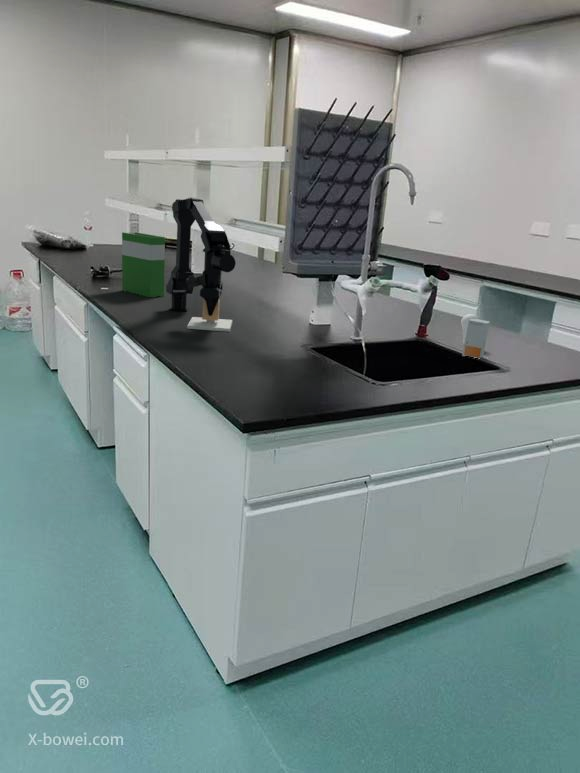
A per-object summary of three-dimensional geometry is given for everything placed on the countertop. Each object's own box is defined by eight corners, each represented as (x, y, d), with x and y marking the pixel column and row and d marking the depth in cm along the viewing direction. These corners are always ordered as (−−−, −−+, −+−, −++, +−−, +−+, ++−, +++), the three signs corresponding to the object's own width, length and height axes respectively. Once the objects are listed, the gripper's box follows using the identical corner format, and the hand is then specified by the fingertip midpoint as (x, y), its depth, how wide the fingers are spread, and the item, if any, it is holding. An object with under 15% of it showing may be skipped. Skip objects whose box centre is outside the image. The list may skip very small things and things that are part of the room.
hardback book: (122, 290, 252) (122, 232, 244) (136, 289, 257) (136, 232, 250) (149, 297, 242) (150, 237, 235) (163, 296, 248) (164, 237, 240)
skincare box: (461, 356, 192) (468, 319, 188) (464, 353, 195) (471, 318, 192) (480, 360, 189) (487, 323, 185) (483, 357, 193) (490, 321, 189)
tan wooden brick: (203, 316, 205) (204, 297, 203) (218, 317, 205) (219, 298, 203) (202, 319, 200) (203, 299, 198) (217, 320, 200) (218, 301, 198)
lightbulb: (465, 347, 204) (471, 316, 200) (453, 343, 209) (458, 312, 205) (478, 347, 206) (484, 316, 203) (466, 342, 211) (472, 312, 208)
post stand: (192, 319, 209) (193, 297, 207) (232, 322, 210) (233, 300, 208) (187, 328, 196) (188, 304, 194) (229, 331, 197) (231, 307, 195)
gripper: (191, 262, 206) (190, 307, 210) (184, 269, 188) (183, 317, 193) (224, 265, 206) (222, 309, 211) (220, 272, 189) (217, 320, 193)
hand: (210, 314), depth 202 cm, fingers closed on tan wooden brick, 5 cm apart
